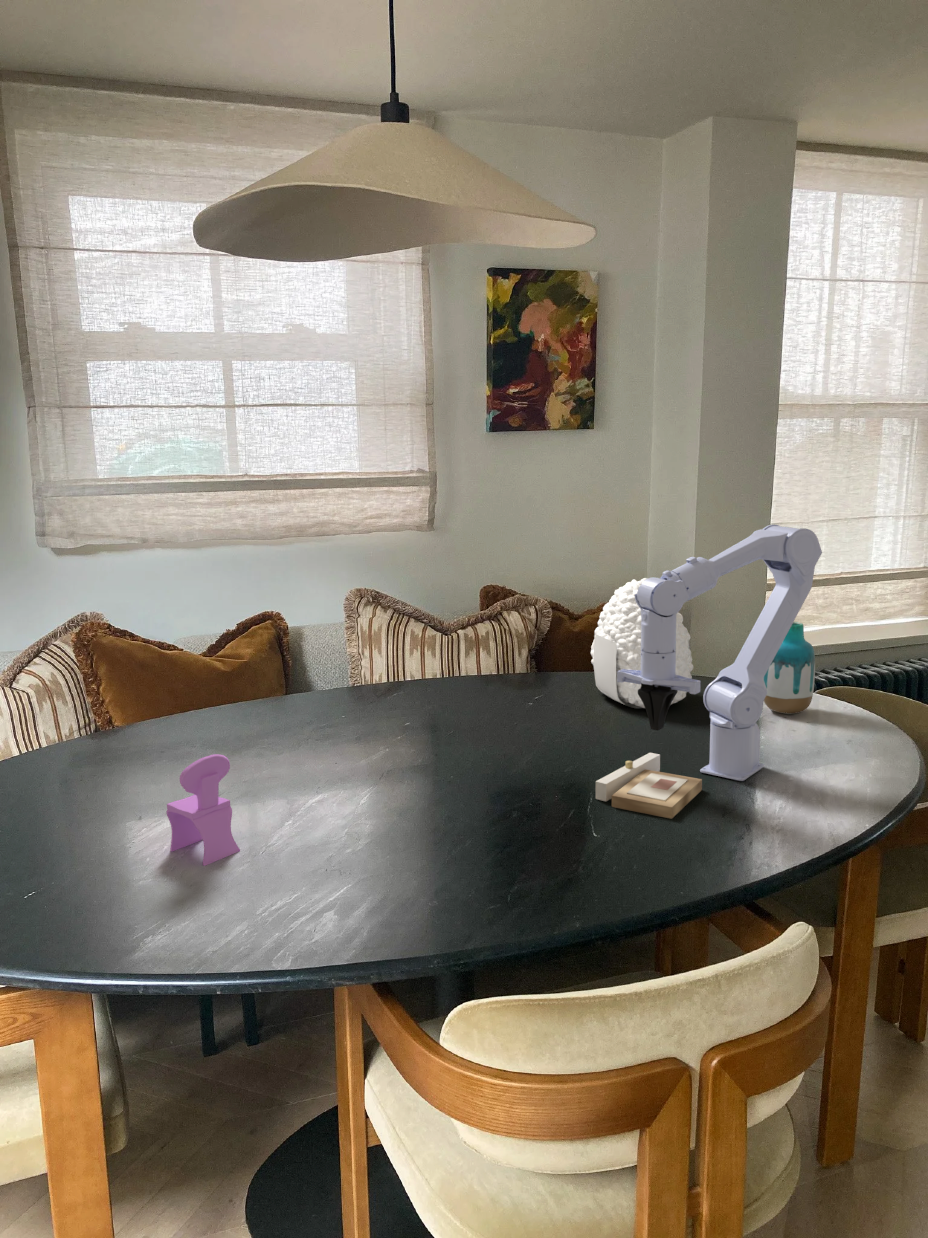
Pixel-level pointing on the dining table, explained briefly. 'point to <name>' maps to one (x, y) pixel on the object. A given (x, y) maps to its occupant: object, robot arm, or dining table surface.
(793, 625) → the vase
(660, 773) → the frame
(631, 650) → the rice ball
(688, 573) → the robot arm
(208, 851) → the toy chair
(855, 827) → the dining table surface
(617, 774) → the rail
